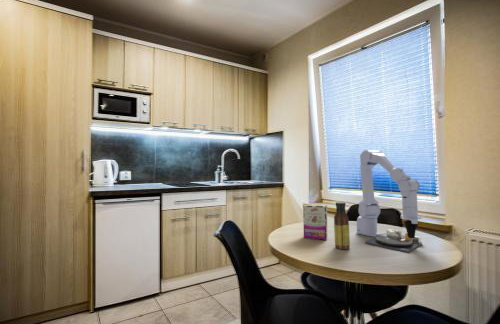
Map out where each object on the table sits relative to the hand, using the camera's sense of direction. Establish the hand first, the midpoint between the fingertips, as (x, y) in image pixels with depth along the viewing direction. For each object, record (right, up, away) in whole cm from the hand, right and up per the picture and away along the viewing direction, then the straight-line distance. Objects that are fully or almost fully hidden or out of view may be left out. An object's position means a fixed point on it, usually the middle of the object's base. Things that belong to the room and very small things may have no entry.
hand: (411, 237), depth 118 cm
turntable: (-5, -3, +5) cm, 8 cm away
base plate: (-5, -4, +5) cm, 8 cm away
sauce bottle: (-31, -5, 0) cm, 31 cm away
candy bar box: (-38, -5, +15) cm, 42 cm away
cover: (-5, -2, +6) cm, 7 cm away
